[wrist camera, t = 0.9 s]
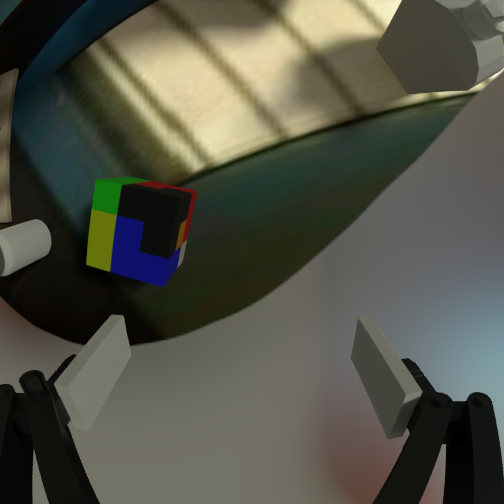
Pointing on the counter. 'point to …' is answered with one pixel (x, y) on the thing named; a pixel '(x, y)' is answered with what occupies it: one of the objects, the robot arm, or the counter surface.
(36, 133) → the counter surface
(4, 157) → the board
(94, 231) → the puzzle toy
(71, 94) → the counter surface
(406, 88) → the soap bottle
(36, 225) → the can
